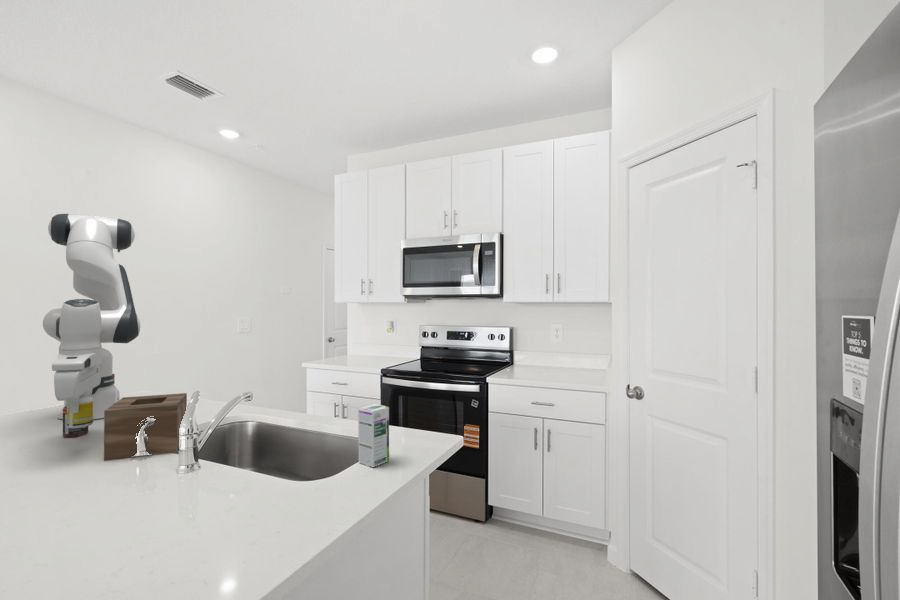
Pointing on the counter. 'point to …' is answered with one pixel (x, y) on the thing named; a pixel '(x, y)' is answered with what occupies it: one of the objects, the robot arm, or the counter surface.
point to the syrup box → (373, 434)
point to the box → (131, 412)
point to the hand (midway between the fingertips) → (80, 409)
